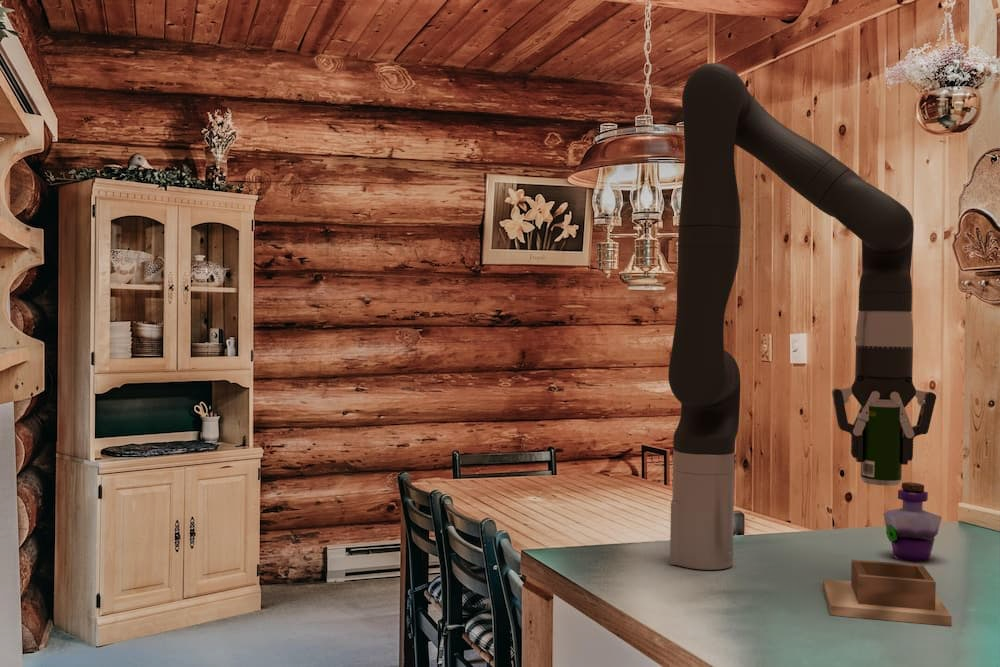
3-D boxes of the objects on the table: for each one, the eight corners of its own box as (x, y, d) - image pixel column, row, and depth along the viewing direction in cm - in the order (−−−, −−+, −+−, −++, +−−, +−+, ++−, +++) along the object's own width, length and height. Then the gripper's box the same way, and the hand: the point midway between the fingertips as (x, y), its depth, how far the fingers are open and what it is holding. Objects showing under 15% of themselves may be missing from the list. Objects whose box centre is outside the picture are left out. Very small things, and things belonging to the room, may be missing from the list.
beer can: (886, 487, 129) (888, 400, 128) (852, 481, 133) (854, 397, 133) (909, 484, 132) (911, 399, 131) (875, 478, 136) (877, 396, 136)
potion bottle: (870, 555, 149) (872, 480, 149) (904, 549, 154) (906, 477, 154) (918, 567, 142) (920, 489, 142) (953, 561, 146) (954, 485, 146)
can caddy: (830, 615, 118) (831, 578, 118) (822, 587, 130) (823, 554, 130) (951, 625, 114) (952, 587, 114) (931, 596, 126) (932, 562, 126)
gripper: (833, 343, 130) (830, 463, 130) (944, 345, 127) (941, 469, 127) (828, 342, 138) (825, 456, 138) (933, 344, 134) (931, 461, 134)
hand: (881, 462), depth 132 cm, fingers closed on beer can, 5 cm apart
